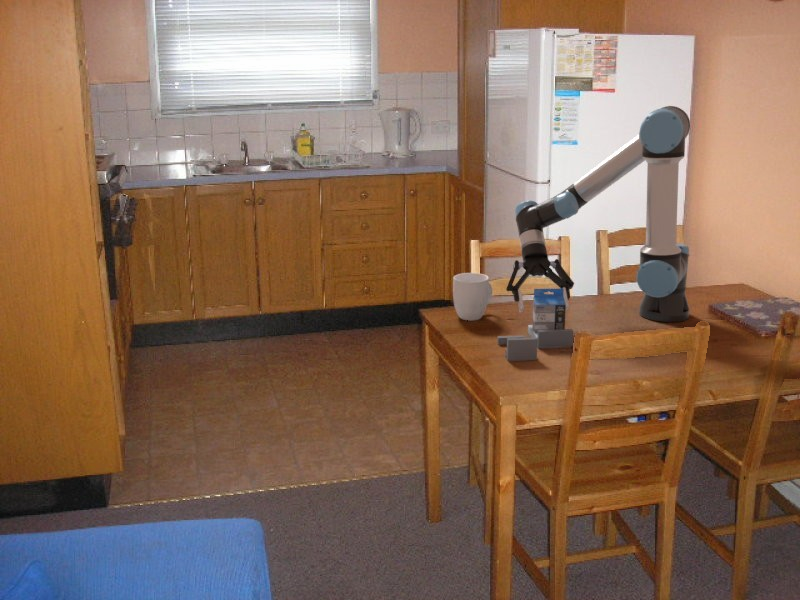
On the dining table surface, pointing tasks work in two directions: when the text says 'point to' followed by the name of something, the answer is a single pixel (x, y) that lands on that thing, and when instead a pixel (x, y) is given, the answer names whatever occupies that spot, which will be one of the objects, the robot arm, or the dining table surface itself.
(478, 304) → the mug
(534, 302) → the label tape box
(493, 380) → the dining table surface
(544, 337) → the dock
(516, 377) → the dining table surface
